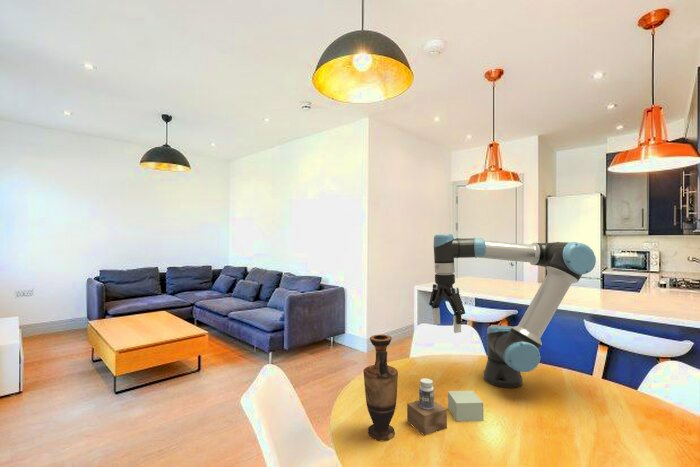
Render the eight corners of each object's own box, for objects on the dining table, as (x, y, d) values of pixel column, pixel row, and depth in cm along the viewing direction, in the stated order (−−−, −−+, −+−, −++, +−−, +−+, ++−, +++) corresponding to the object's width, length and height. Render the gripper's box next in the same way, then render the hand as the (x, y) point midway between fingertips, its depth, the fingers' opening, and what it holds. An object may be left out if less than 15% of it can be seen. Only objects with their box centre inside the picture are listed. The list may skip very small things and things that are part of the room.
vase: (363, 423, 113) (363, 332, 113) (396, 424, 112) (395, 332, 113) (364, 443, 102) (363, 342, 102) (400, 444, 101) (399, 342, 102)
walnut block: (428, 415, 118) (428, 397, 118) (447, 428, 110) (446, 409, 110) (407, 421, 114) (407, 403, 114) (424, 435, 106) (424, 416, 106)
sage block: (472, 407, 123) (472, 390, 123) (483, 420, 114) (483, 402, 114) (448, 408, 122) (447, 391, 123) (456, 421, 113) (456, 403, 114)
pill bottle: (416, 406, 112) (416, 380, 112) (424, 401, 115) (423, 376, 115) (429, 411, 108) (429, 384, 108) (436, 406, 112) (436, 380, 112)
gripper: (419, 271, 144) (421, 322, 144) (456, 277, 120) (458, 337, 120) (434, 270, 147) (436, 320, 146) (473, 275, 123) (476, 335, 123)
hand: (446, 328), depth 133 cm, fingers open, 13 cm apart
